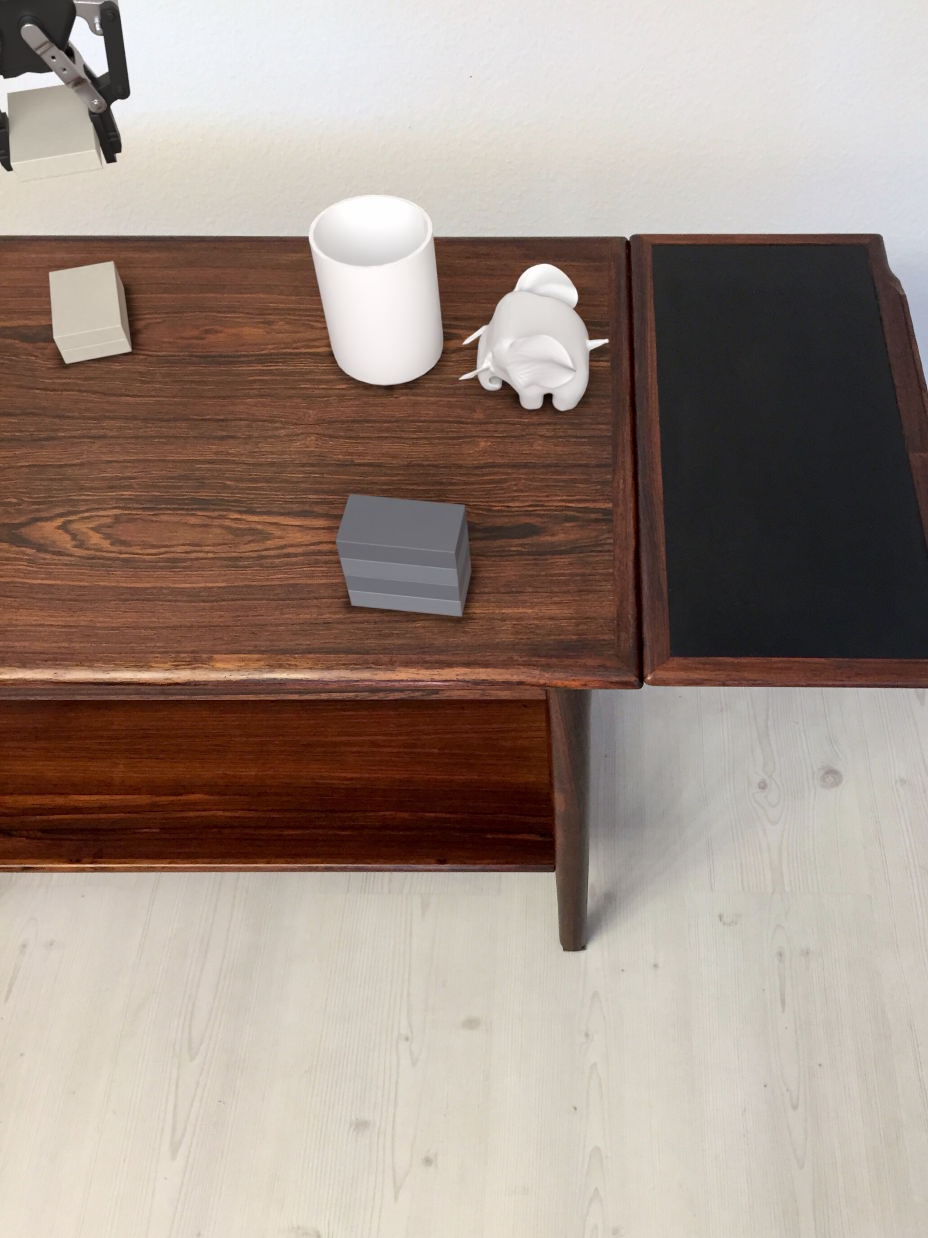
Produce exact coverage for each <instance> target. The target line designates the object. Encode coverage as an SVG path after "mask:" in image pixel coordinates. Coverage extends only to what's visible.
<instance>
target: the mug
mask: <svg viewBox="0 0 928 1238" xmlns="http://www.w3.org/2000/svg"><path fill="white" fill-rule="evenodd" d="M433 229H434V228H433V223H432V219H431V218H430V216H429V214H428V213H427V212H426V210H424V209H423V208H422V207H420V205H418V204H416V203H415V202H412V201H410V200H409V199H407V198H403V197H399V196H395V195H389V194H377V193H376V194H375V193H374V194H362V195H356V196H352V197H347V198H345V199H342V200H340V201H338V202H335V203H332V204H330V205H329V206H327V207H326V208H325V209H324V210H321V211H320V213H319V214H318V215H317V216H316V217H315V218H314V219H313V220H312V223H311V225H310V227H309V229H308V243H309V247H310V250H311V256H312V260H313V265H314V270H315V276H316V280H317V284H318V289H319V294H320V299H321V304H322V309H323V314H324V318H325V322H326V328H327V332H328V337H329V342H330V346H331V350H332V353H333V356H334V358H335V360H336V363H337V365H338V367H339V368H340V369H341V370H342V371H343V372H344V373H345V374H346V375H349V377H351V378H353V379H355V380H357V381H360V382H364V383H366V384H371V385H376V386H394V385H395V386H396V385H401V384H404V383H409V382H411V381H415V380H416V379H418V378H419V377H422V376H423V375H425V374H426V373H427V372H429V371H430V370H432V368H433V367H435V366H436V365H437V363H438V361H439V360H440V359H441V355H442V353H443V349H444V332H443V322H442V321H443V319H442V312H441V311H442V310H441V301H440V291H439V281H438V270H437V261H436V249H435V241H434V240H435V239H434V231H433Z"/></svg>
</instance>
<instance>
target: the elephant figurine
mask: <svg viewBox="0 0 928 1238" xmlns="http://www.w3.org/2000/svg"><path fill="white" fill-rule="evenodd" d="M578 301H579V295H578V291H577V289H576V286H575V285H574V283H573V282H572V280H571V279H570V278H569V277H568V275H567V274H566V273H565V272H563V271H562V270H561V269H559V268H558V267H556V266H554V265H552V264H549V263H539V264H536V265H533V266H531V267H529V268H527V269H526V270H525V271H524V272H522V274H521V275H520V277H519V278H518V279H517V283H516V284H515V287H514V289H513V291H510V292H508V293H506V294H505V295H504V296H503V297H502V298H501V299H500V300H499V301H498V303H497V305H496V307H495V309H494V313H493V316H492V318H491V320H490V321H489V323H488V324H486V325H485V324H484V325H483V326H481V327H480V328H479V329H478V330H477V331H476V332H474V333H473V334H471V335H470V336H469V337H467V338H466V339H465V340H464V342H463V343H462V344H461V345H468V344H469V343H471V342H472V341H474V340H476V339H477V338H478V337H479V340H478V343H477V344H478V345H477V354H476V355H477V357H476V369H475V370H473V371H471V372H468V373H466V374H463V375H462V376H461V377H459V378H458V381H459V380H460V381H461V380H466V379H467V380H468V379H472V378H474V377H475V376H477V380H478V381H479V383H480V385H481V386H482V388H484V389H485V390H486V391H498V390H500V389H501V388H502V386H503V381H504V382H506V383H507V384H509V385H510V386H511V387H512V388H513V390H514V391H516V393H517V394H518V396H519V402H520V405H521V406H522V408H524V409H527V410H536V409H537V410H538V409H541V407H542V406H543V403H544V395H546V394H552V400H551V402H552V405H553V407H554V408H555V409H556V410H558V411H561V412H565V411H569V410H572V409H574V408H576V407H577V405H578V403H579V402H580V401H581V399H582V397H583V396H584V395H585V392H586V389H587V387H588V383H589V378H590V351H591V350H594V349H596V348H598V347H601V346H602V345H604V344H608V343H609V342H610V340H609V338H605V339H601V338H599V339H590V337H589V332H588V329H587V327H586V324H585V322H584V321H583V320H582V318H581V317H580V315H579V314H578V313H577V312H576V311H575V309H574V308H575V307H576V305H577V303H578Z"/></svg>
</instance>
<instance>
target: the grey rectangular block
mask: <svg viewBox="0 0 928 1238" xmlns="http://www.w3.org/2000/svg"><path fill="white" fill-rule="evenodd" d="M346 501H347V502H346V503H345V504H346V505H345V507H344V511H343V514H342V517H341V521H340V524H339V527H338V530H337V533H336V537H335V545H336V549H337V552H338V557H339V562H340V566H341V569H342V573H343V576H344V580H345V584H346V589H347V592H348V597H349V600H350V604H351V606H352V607H353V606H355V607H363V608H372V609H382V610H393V611H403V612H411V613H413V612H414V613H422V614H431V615H440V616H442V615H443V616H452V617H463V614H464V608H465V604H466V599H467V595H468V590H469V584H470V580H471V576H472V560H471V552H470V542H469V531H468V530H469V529H468V519H467V518H468V517H467V508H466V505H465V504H459V503H447V502H440V501H439V502H437V501H429V500H419V499H418V500H416V499H406V498H394V497H387V496H386V497H384V496H375V495H374V496H373V495H364V494H353V493H349V495H348V498H347V500H346Z"/></svg>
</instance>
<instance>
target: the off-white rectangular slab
mask: <svg viewBox="0 0 928 1238" xmlns="http://www.w3.org/2000/svg"><path fill="white" fill-rule="evenodd" d="M6 98H7V100H6V101H7V116H8V119H9V142H10V163H11V166H12V168H13V170H14V171H13V173H14V175H15V177H16V179H17V181H18V183H26V182H31V181H37V180H44V179H49V178H50V179H51V178H57V177H63V176H69V175H74V174H80V173H87V172H93V171H98V170H99V171H100V170H104V169H103V168H104V166H103V158H102V150H101V147H100V142H99V139H98V136H97V133H96V131H95V128H94V125H93V123H92V122H91V120H90V118H89V113H88V107H87V105H86V104H85V103H84V102H83V101H82V100H81V99H80V97H79V96H78V95H77V94H76V93H75V92H74V91H73V90H72V89H71V88H68V87H67V86H66V85H65V84H64V83H63V84H59V85H52V86H46V87H39V88H38V87H37V88H31V89H25V90H19V91H12V92H11V91H10V92H7V93H6Z"/></svg>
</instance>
